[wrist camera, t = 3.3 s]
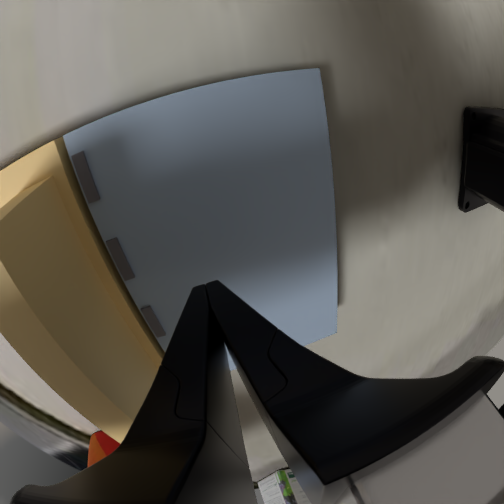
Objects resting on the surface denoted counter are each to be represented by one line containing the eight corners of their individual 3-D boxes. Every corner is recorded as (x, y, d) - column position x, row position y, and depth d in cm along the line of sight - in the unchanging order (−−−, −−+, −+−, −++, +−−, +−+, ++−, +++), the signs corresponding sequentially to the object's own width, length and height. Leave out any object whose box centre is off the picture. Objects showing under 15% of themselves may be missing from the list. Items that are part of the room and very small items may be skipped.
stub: (69, 133, 8) (-20, 177, 3) (177, 362, 14) (192, 456, 10) (-36, 197, 7) (-113, 268, 2) (86, 383, 14) (81, 467, 9)
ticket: (300, 70, 9) (321, 68, 7) (324, 314, 15) (337, 334, 14) (77, 130, 8) (61, 136, 6) (182, 360, 14) (185, 385, 13)
